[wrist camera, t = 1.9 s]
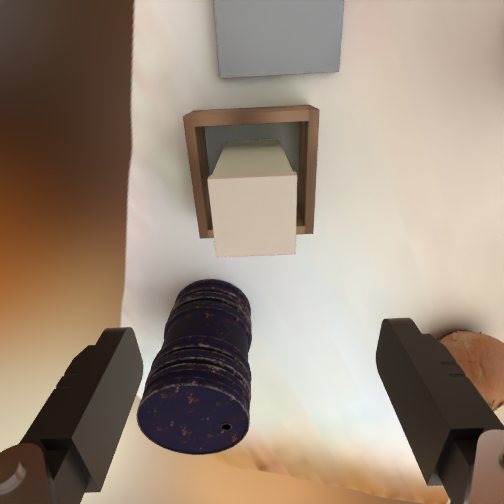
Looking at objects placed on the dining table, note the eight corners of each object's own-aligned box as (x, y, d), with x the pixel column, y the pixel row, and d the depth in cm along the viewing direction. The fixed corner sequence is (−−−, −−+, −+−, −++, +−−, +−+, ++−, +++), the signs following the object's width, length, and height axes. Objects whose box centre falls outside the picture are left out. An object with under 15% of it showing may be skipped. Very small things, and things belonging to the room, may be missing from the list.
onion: (429, 346, 47) (439, 420, 41) (420, 317, 41) (430, 398, 35) (509, 346, 42) (534, 429, 37) (512, 312, 36) (542, 405, 31)
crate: (309, 104, 29) (319, 109, 24) (305, 213, 34) (313, 233, 29) (193, 110, 29) (182, 116, 25) (206, 217, 34) (199, 238, 30)
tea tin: (279, 137, 30) (297, 175, 18) (279, 190, 33) (295, 254, 21) (225, 140, 30) (207, 179, 18) (229, 192, 33) (216, 257, 21)
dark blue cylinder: (169, 332, 42) (132, 447, 29) (177, 271, 37) (137, 375, 24) (243, 345, 43) (239, 461, 30) (259, 286, 38) (263, 394, 25)
